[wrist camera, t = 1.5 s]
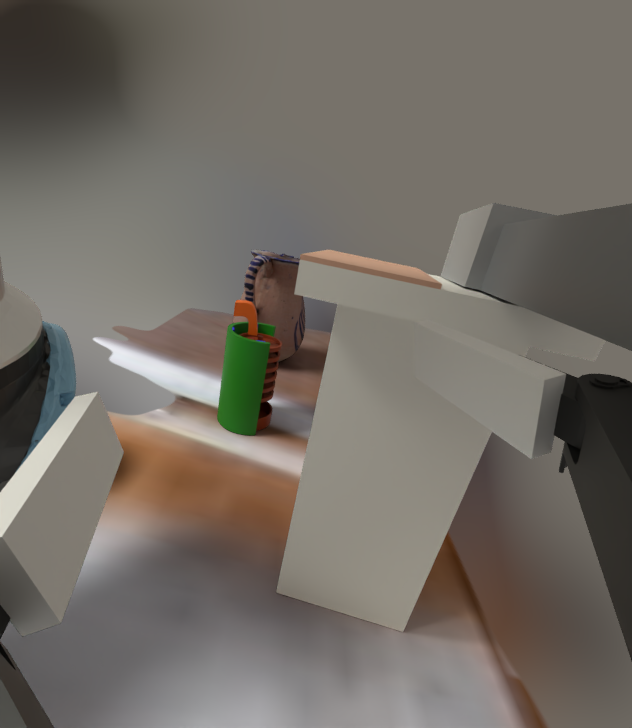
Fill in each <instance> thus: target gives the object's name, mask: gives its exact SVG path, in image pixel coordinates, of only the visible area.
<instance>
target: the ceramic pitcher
mask: <svg viewBox="0 0 632 728" xmlns="http://www.w3.org/2000/svg"><path fill="white" fill-rule="evenodd" d="M251 253H252V255H253V256H254V259H252V261H251V263H250V264H249V267H248V269H247V272H246V275H245V284H244V285H245V286H244V293H243V294H242V297H241V299H240V300H247V301H250V302H252V303H253V304H254V305H255V308H256V311H257V323H264V324H269V325H273V326H276V329H275V335H274V337H275V338H277V339H279V340H280V341H281V342H282V348H281V350H279V352H280V359H279V360H278V362H279V361H282V360H284V359H286V358H288V357H290V356H291V355H293V354H294V353H295V352H296V351H297V349H298V348H299V347H300V345H301V343H302V340H303V337H304V331H305V308H304V300H303V296H300V295H296V294H294V292H295V286H296V280H297V274H298V268H299V262H300V259H298V258H294V257H293V256H287V255H285V254H282V255H278V254H275V253H273V252H269V251H264V250H254V251H251ZM236 322H248V319H247V318H246V317H243V316H234V319H233V323H236Z"/></svg>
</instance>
